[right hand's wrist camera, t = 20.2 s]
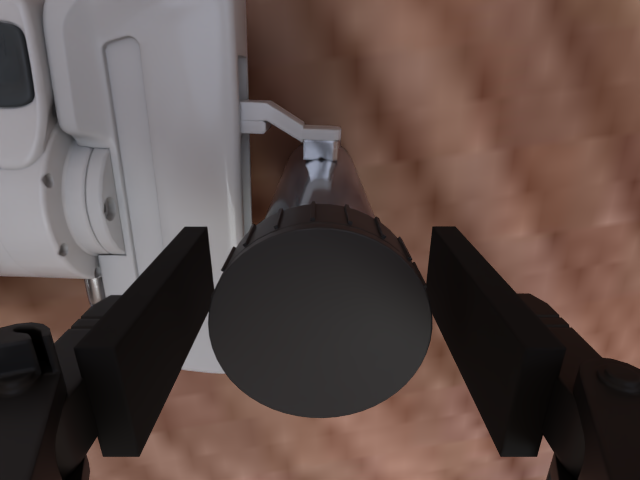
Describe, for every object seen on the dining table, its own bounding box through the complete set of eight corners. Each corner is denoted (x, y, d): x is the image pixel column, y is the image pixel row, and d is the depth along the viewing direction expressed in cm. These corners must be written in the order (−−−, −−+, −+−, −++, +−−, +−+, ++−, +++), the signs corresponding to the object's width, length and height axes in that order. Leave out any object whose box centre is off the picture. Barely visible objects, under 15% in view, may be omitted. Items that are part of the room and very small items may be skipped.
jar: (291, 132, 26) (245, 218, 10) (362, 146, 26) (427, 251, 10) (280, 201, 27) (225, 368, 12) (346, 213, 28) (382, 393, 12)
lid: (434, 210, 11) (457, 237, 9) (399, 378, 13) (412, 427, 11) (223, 191, 11) (203, 214, 9) (222, 365, 13) (206, 412, 11)
